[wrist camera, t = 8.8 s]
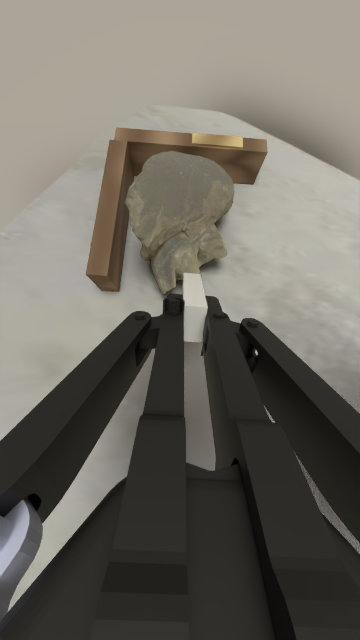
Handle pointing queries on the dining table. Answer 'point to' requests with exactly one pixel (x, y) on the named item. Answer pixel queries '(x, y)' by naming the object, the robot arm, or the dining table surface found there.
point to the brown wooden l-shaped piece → (128, 160)
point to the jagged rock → (179, 213)
